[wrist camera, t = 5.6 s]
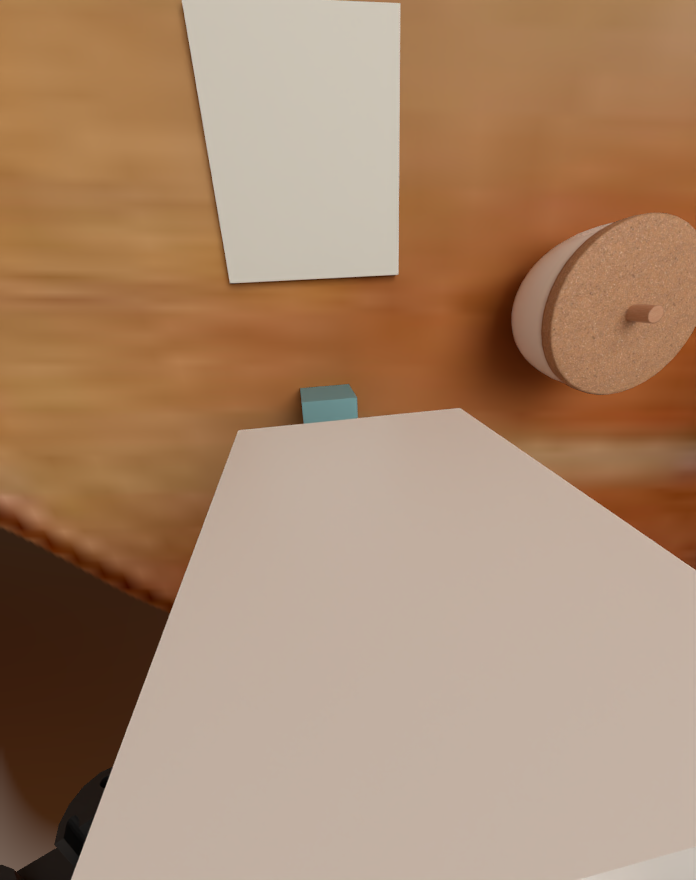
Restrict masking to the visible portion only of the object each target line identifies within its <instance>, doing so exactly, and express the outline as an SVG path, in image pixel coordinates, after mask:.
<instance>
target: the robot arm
mask: <svg viewBox="0 0 696 880" xmlns="http://www.w3.org/2000/svg"><path fill="white" fill-rule="evenodd" d="M112 768H113V767H111V768H109V769H107V770H105V771H103V772H101V773H99V774H98V775H97V776H96V777H95V778H93V779H92V780H91V781H90V782H89V783H87V784H86V785H85V786H84V787H83V788H82V789H81V790H80V792H79V793H78V794H77V795H76V797H75V798H74V799H73V800H72V802H71V803H70V804H69V806H68V808H67V810H66V812H65V814H64V816H63V818H62V820H61V822H60V823H59V827H58V831H57V836H56V840H55V846H56V847H57V848H56V849H54V850H52V851H51V852H49V853H47V854H46V855H44V856H42V857H40V858H39V859H37V860H35V861H34V862H32V863H30V864H29V865H27V866H25V867H24V868H22V869H20V870H19V871H17V872H16V871H15V870H14V869H11V868H9V867H6V866H4V865H0V880H71V878H72V876H73V873H74V870H75V868H76V865H77V862H78V860H79V857H80V854H81V851H82V849H83V846H84V843H85V841H86V838H87V835H88V833H89V830H90V827H91V825H92V822H93V819H94V817H95V814H96V811H97V809H98V806H99V803H100V800H101V798H102V795H103V792H104V790H105V787H106V784H107V782H108V779H109V776H110V774H111V771H112Z"/></svg>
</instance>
